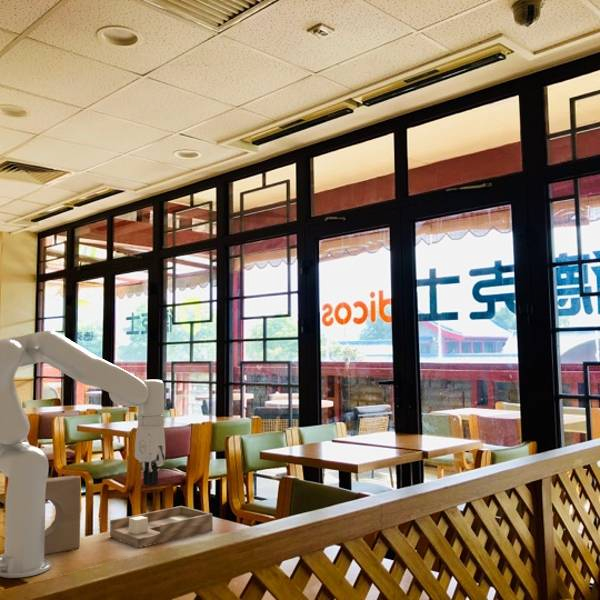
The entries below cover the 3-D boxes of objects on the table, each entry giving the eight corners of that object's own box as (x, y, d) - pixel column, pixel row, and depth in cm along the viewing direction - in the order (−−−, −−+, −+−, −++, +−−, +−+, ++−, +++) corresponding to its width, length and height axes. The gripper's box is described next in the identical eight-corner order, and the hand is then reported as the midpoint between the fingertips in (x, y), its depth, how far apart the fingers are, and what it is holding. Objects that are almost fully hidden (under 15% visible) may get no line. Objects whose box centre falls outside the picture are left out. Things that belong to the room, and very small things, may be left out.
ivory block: (136, 534, 191) (136, 520, 192) (129, 531, 194) (129, 518, 194) (147, 531, 194) (147, 517, 194) (140, 529, 197) (140, 515, 197)
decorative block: (40, 556, 180) (41, 482, 181) (34, 551, 184) (35, 479, 186) (80, 548, 186) (81, 477, 188) (73, 544, 191) (74, 474, 193)
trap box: (139, 547, 186) (139, 530, 186) (110, 537, 198) (110, 520, 198) (212, 530, 204) (212, 513, 205) (181, 521, 216) (181, 505, 217)
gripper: (126, 421, 195) (125, 483, 194) (154, 424, 184) (154, 490, 183) (147, 419, 201) (147, 479, 199) (176, 422, 190) (176, 486, 188)
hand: (150, 484), depth 191 cm, fingers closed
